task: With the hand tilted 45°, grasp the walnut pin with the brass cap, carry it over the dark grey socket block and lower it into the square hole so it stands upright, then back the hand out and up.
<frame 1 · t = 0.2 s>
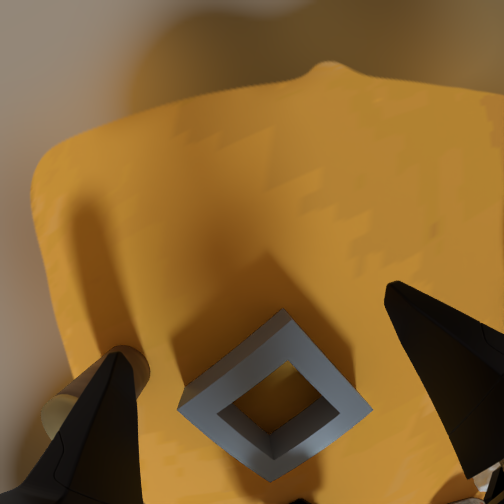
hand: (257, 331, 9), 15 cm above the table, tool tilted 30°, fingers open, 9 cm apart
light grey piece: (479, 443, 26), on the table
walnut pin: (127, 368, 23), on the table
tin: (454, 503, 26), on the table
socket block: (274, 392, 24), on the table
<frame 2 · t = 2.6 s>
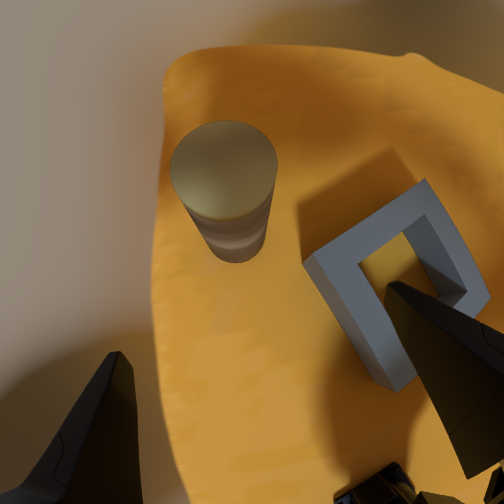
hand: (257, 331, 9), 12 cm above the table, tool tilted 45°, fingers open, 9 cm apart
walnut pin: (235, 234, 22), on the table
socket block: (394, 285, 22), on the table
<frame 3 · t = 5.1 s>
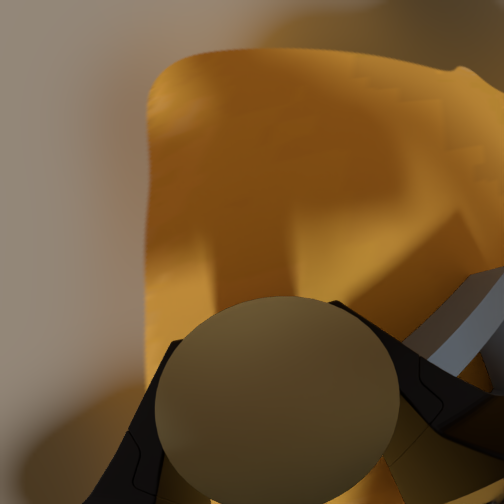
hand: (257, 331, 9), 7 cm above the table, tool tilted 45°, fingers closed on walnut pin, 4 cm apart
walnut pin: (260, 349, 15), on the table, touching gripper
socket block: (451, 389, 14), on the table
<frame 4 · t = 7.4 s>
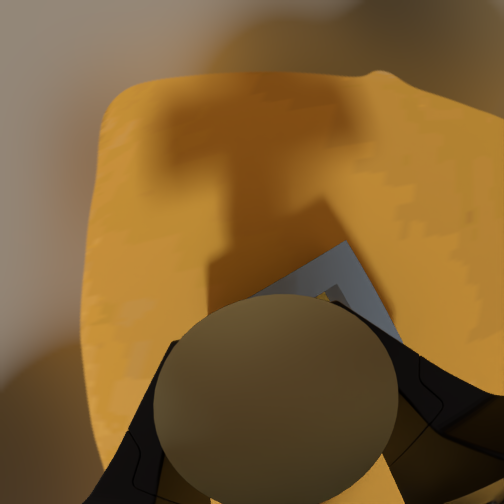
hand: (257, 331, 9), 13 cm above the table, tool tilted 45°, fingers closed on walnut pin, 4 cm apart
walnut pin: (260, 348, 15), point 7 cm above the table, touching gripper
socket block: (307, 348, 22), on the table
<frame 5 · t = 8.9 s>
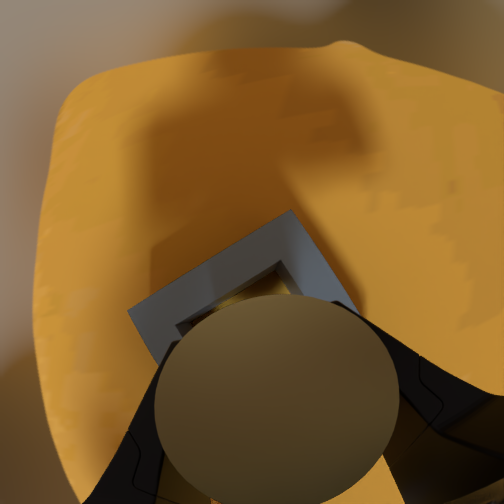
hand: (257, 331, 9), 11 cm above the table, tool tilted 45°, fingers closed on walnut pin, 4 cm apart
walnut pin: (260, 348, 15), point 4 cm above the table, touching gripper
socket block: (259, 339, 19), on the table
when the fingers open (8 cm above the table, at t = 10.2 s): walnut pin drops 1 cm, resting in socket block.
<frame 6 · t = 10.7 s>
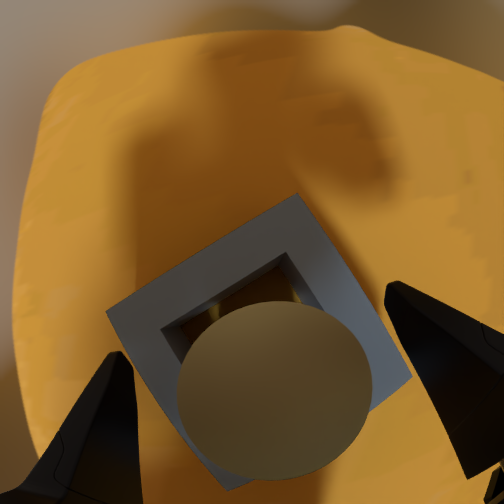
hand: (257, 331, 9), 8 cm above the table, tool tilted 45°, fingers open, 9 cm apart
walnut pin: (260, 346, 17), resting in socket block
socket block: (260, 345, 17), on the table
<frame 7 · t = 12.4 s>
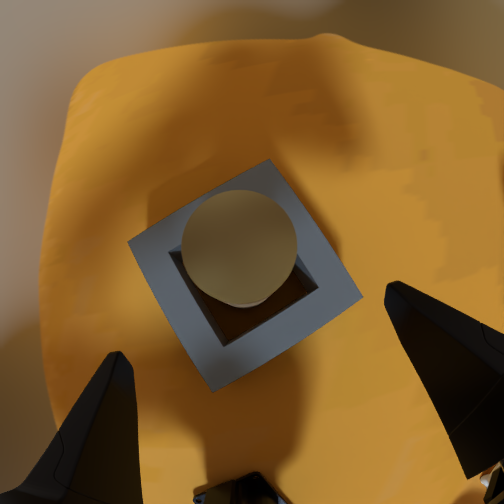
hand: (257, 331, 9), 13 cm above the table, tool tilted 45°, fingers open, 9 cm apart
light grey piece: (498, 448, 18), on the table
walnut pin: (244, 278, 22), resting in socket block
socket block: (243, 277, 22), on the table
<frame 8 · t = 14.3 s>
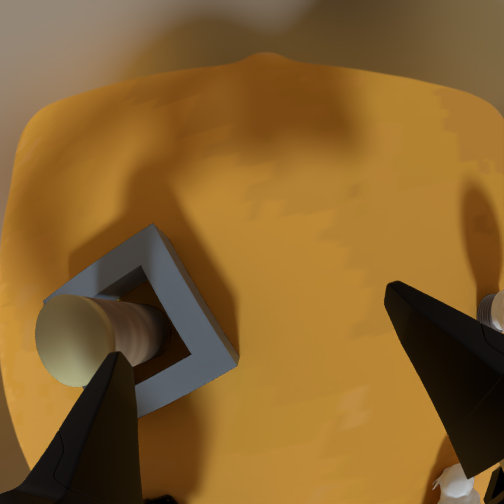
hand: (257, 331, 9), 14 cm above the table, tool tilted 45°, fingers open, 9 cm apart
light grey piece: (439, 495, 18), on the table
walnut pin: (145, 331, 22), resting in socket block
socket block: (144, 330, 22), on the table
light bulb: (487, 311, 22), on the table
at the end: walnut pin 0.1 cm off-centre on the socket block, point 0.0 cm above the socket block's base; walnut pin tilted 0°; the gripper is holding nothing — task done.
